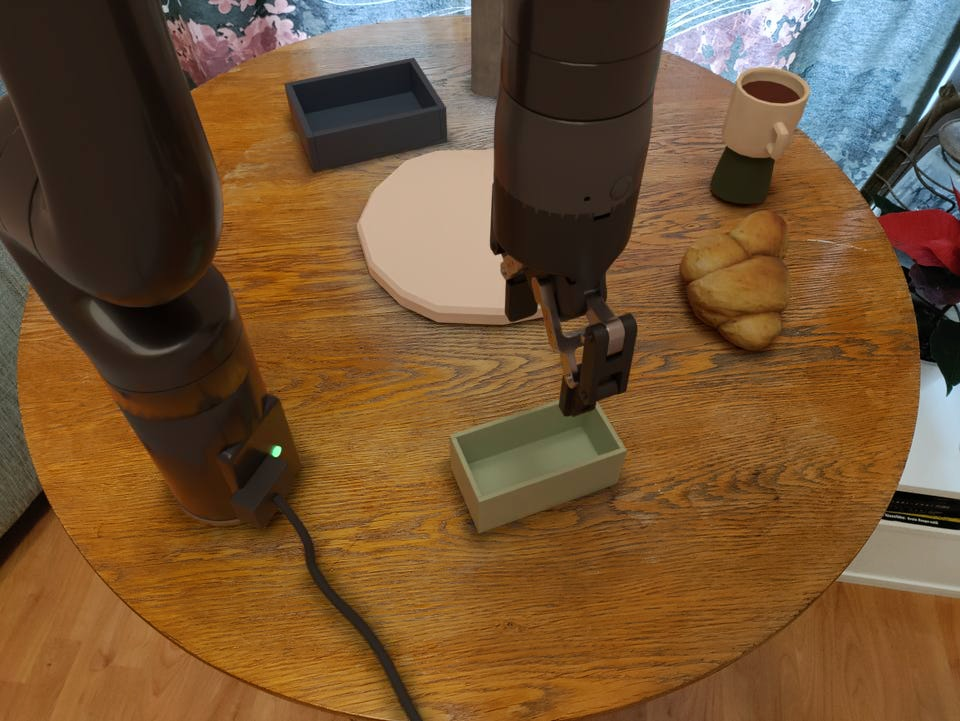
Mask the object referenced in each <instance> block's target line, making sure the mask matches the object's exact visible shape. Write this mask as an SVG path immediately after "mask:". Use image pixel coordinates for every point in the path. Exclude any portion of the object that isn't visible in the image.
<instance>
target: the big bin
mask: <svg viewBox="0 0 960 721" xmlns="http://www.w3.org/2000/svg"><path fill="white" fill-rule="evenodd" d="M283 85H284V89H285V90H284V91H285V94H286V98H287V99H286V100H287V104H288V108H289V113H290V118H291V120H292V123H293V125H294V128H295V130H296V132H297V135H298V137H299V140H300V142H301V144H302V147H303V150H304V151H305V154H306V157H307V159H308V162H309V164H310V166H311V169H312V171H313V173H317V172H322V171H325V170H330V169H334V168H335V169H336V168H339V167H344V166H348V165H352V164H357V163H361V162H365V161H369V160H374V159H378V158H383V157H387V156H391V155H395V154H400V153H405V152H408V151H413V150H418V149H422V148H426V147H431V146H435V145H440V144H444V143H447V142H448V122H447V119H448V118H447V107H446V105H445V104H444V102H443V100H442V99H441V97H440V96H439V94H438V92H437V91H436V89H435V88H434V86H433V85H432V83H431V82H430V80H429V79H428V76H427V75H426V74H425V72H424V70H423V69H422V68H421V65H419V63H418V61H417V60H416V58H415V57H410V58H405V59H399V60H394V61H389V62H384V63H380V64H374V65H369V66H364V67H358V68H354V69H349V70H348V69H347V70H344V71H340V72H333V73H329V74H324V75H319V76H313V77H309V78H308V77H307V78H303V79H298V80H294V81H293V80H292V81H289V82H285V83H284V84H283Z"/></svg>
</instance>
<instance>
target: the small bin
mask: <svg viewBox="0 0 960 721" xmlns="http://www.w3.org/2000/svg"><path fill="white" fill-rule="evenodd" d="M449 449H450V450H449V453H450V455H449V456H450V457H449V458H450V470H451V472H452V475H453V477H454V480H455V482H456V485H457V487H458V489H459V491H460V493H461V496H462V498H463V500H464V503H465V505H466V508H467V510H468V512H469V515H470V516H471V520H472V522H473V525H474V526H475V529H476V531H477V534H482V533H484V532H487V531H490V530H493V529H496V528H499V527H501V526H504V525H507V524H509V523H512V522H515V521H519V520H521V519H524V518H526V517H530V516H532V515H535V514H537V513H541V512H542V511H546V510H548V509H551V508H554V507H557V506H560V505H562V504H565V503H568V502H571V501H574V500H576V499H579V498H582V497H585V496H588V495H591V494H593V493H596V492H599V491H601V490H604V489H607V488H610V487H613V486H615V485H618V483H619V480H620V477H621V473H622V469H623V466H624V462H625V459H626V456H627V451H628V449H627V448H626V447H625V445H624V443H623V441H622V439H621V438H620V437H619V435H618V433H617V431H616V430H615V428H614V427H613V425H612V423H611V422H610V419H609V418H608V417H607V415H606V413H605V412H604V409H602V406H601V405H600V403H599V401H597V402H596V408H595V409H594V410H592V411H589V412H587V413H584V414H581V415H578V416H575V417H572V416H568V417H565V416H564V415H563V414H562V412H561V410H560V408H559V399H556V400H553V401H550V402H547V403H544V404H541V405H537V406H535V407H531V408H528V409H525V410H522V411H519V412H515V413H513V414H510V415H507V416H504V417H501V418H497V419H494V420H491V421H489V422H484V423H482V424H479V425H476V426H473V427H470V428H467V429H462V430H460V431H456V432H454V433H451V434H449Z"/></svg>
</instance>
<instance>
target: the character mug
mask: <svg viewBox="0 0 960 721" xmlns="http://www.w3.org/2000/svg"><path fill="white" fill-rule="evenodd" d="M810 95H811V88H810V86H809V83H808V82H807V81H806V80H805V79H803V78H802V77H801V76H799V75H798V74H795V73H793V72H791V71H789V70H785V69H782V68H778V67H772V66H771V67H769V66H758V67H752V68H748V69H746V70H744V71H742V72H740V73H739V75H738V77H737V78H736V80H735V83H734V85H733V89H732V92H731V96H730V99H729V102H728V106H727V108H726V109H727V110H726V113H725V117H724V120H723V124H722V127H721V140H722V142H723V143H724V144H725V145H726V146H725V148H724V150H723V152H722V154H721V156H720V158H719V160H718V162H717V165H716V167H715V169H714V171H713V174H712V176H711V178H710V184H709V186H710V189H711V190H712V192H713V194H714V195H716V196H717V197H719V199H721V200H723V201H727V202H731V203H735V204H741V205H752V204H753V205H756V204H761V203H762V202H763V201H765V200H766V199H767V197H768V194H769V190H770V186H771V183H772V178H773V174H774V167H775V163H776V162H775V161H778V160H780V159H781V157H782V155H783V152H785V151H787V149H789V148H790V147H791V146H792V144H793V142H794V139H795V130H796V127H797V126H798V125H799V122H800V121H801V119H802V117H803V115H804V113H805V109H806V107H807V106H806V105H807V102H808V101H809V97H810Z"/></svg>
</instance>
